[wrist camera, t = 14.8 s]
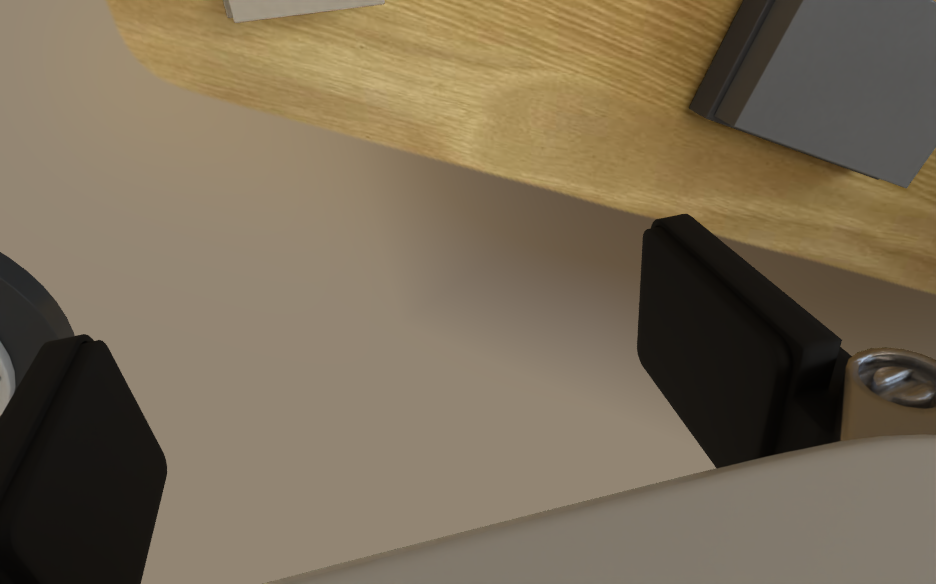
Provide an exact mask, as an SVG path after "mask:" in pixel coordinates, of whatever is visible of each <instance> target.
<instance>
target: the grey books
mask: <svg viewBox="0 0 936 584" xmlns="http://www.w3.org/2000/svg"><path fill="white" fill-rule="evenodd" d="M689 109H690V110H692V111H694V112H696V113H697V114H699V115H701V116H703V117H704V118H706V119H709V120H712V121H714V122H717V123H720V124H723V125H726V126H728V127H731V128H734V129H737V130H740V131H742V132H745V133H748V134H751V135H754V136H757V137H759V138H762V139H765V140H768V141H771V142H773V143H776V144H779V145H782V146H785V147H787V148H790V149H793V150H796V151H799V152H801V153H804V154H807V155H810V156H813V157H816V158H818V159H821V160H824V161H827V162H830V163H832V164H835V165H838V166H841V167H844V168H846V169H849V170H852V171H855V172H858V173H860V174H863V175H866V176H869V177H872V178H875V179H877V180H879V179H881V180H884V181H887V182H890V183H893V184H895V185H898V186H901V187H904V188H907V187H908V186H909V184H910V183H911V181H912V180H913V179H914V177H915V176H916V174H917V173H918V172H919V170H920V169H921V167H922V166H923V164H924V163H925V162H926V160H927V159H928V157H929V156H930V155H931V153H932V152H933V150H934V149H935V148H936V2H935V1H933V0H743V2H742V4H741V6H740V8H739V10H738V12H737V14H736V16H735V18H734V20H733V22H732V24H731V26H730V28H729V30H728V32H727V34H726V36H725V38H724V40H723V42H722V44H721V46H720V48H719V50H718V52H717V54H716V55H715V57H714V59H713V61H712V63H711V65H710V67H709V69H708V71H707V73H706V75H705V77H704V79H703V81H702V83H701V85H700V87H699V89H698V91H697V93H696V95H695V97H694V99H693V101H692V103H691V105H690V107H689Z"/></svg>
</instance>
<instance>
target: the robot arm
mask: <svg viewBox="0 0 936 584" xmlns="http://www.w3.org/2000/svg"><path fill="white" fill-rule="evenodd" d="M841 341H842V340H841V339H840V338H839V337H838V336H836V335H835V334H834V333H833V332H832V331H830V330H829V329H828V328H827V327H826V326H824V325H823V324H822V323H821V322H819V321H818V320H817V319H816V318H814V317H813V316H812V315H811V314H810V313H808V312H807V311H806V310H805V309H804V308H802V307H801V306H800V305H799V304H797V303H796V302H795V301H794V300H793V299H791V298H790V297H789V296H788V295H787V294H785V293H784V292H782V290H780V289H779V288H778V287H777V286H775V285H774V284H773V283H772V282H771V281H769V280H768V279H767V278H766V277H765V276H763V275H762V274H761V273H760V272H758V271H757V270H756V269H755V268H754V267H752V266H751V265H750V264H749V263H747V262H746V261H745V260H744V259H743V258H741V257H740V256H739V255H738V254H737V253H735V252H734V251H733V250H732V249H730V248H729V247H728V246H727V245H725V244H724V243H723V242H722V241H721V240H719V239H718V238H717V237H716V236H715V235H713V234H712V233H711V232H710V231H708V230H707V229H706V228H705V227H704V226H702V225H701V224H700V223H699V222H697V221H696V220H695V219H694V218H693V217H691V216H690V215H688V214H681V215H676V216H671V217H666V218H661V219H656V220H655V221H654V222H653V224H652V226H651V229H647V230H646V231H645V232H644V234H643V246H642V265H641V283H640V302H639V320H638V340H637V351H638V356H639V359H640V362H641V364H642V366H643V367H644V369H645V370H646V371H647V373H648V374H649V375H650V377H651V378H652V379H653V381H654V382H655V384H656V385H657V387H658V388H659V389H660V391H661V392H662V393H663V395H664V396H665V398H666V399H667V400H668V402H669V403H670V404H671V406H672V407H673V409H674V410H675V411H676V413H677V414H678V415H679V417H680V418H681V420H682V421H683V422H684V424H685V425H686V427H687V428H688V429H689V431H690V432H691V434H692V435H693V436H694V438H695V439H696V440H697V442H698V443H699V445H700V446H701V447H702V449H703V450H704V451H705V453H706V454H707V456H708V457H709V458H710V460H711V461H712V462H713V464H714V465H715V467H716V468H717V469H713V470H708V471H704V472H700V473H696V474H691V475H687V476H683V477H679V478H675V479H671V480H668V481H663V482H659V483H656V484H651V485H647V486H643V487H639V488H635V489H631V490H627V491H623V492H619V493H615V494H612V495H607V496H603V497H599V498H595V499H591V500H587V501H583V502H579V503H576V504H572V505H567V506H563V507H560V508H555V509H552V510H547V511H543V512H540V513H535V514H532V515H528V516H524V517H520V518H516V519H512V520H509V521H504V522H500V523H497V524H492V525H489V526H485V527H481V528H477V529H473V530H469V531H465V532H461V533H457V534H453V535H449V536H445V537H442V538H438V539H434V540H430V541H426V542H422V543H418V544H414V545H410V546H407V547H402V548H399V549H395V550H391V551H387V552H383V553H379V554H375V555H372V556H367V557H364V558H360V559H356V560H352V561H348V562H344V563H340V564H337V565H333V566H329V567H325V568H321V569H318V570H314V571H310V572H306V573H302V574H299V575H295V576H291V577H287V578H283V579H280V580H275V581H271V582H268V583H264V584H936V360H934V359H932V358H930V357H928V356H925V355H923V354H919V353H916V352H912V351H908V350H904V349H895V348H887V347H884V348H870V349H867V350H864V351H861V352H857V353H856V354H855V355H853V356H851V355H849V354H848V353H847V352H846V351H845V350H843V349H842V348H841V347H840V345H841ZM14 391H15V371H14V368H13V365H12V362H11V359H10V356H9V354H8V353H7V351H6V349H5V348H4V346H3V345H2V343H1V341H0V584H141V580H142V576H143V571H144V567H145V563H146V559H147V555H148V550H149V546H150V542H151V538H152V534H153V530H154V526H155V522H156V517H157V514H158V509H159V505H160V501H161V497H162V492H163V488H164V484H165V480H166V476H167V464H166V459H165V456H164V453H163V451H162V449H161V448H160V446H159V444H158V442H157V440H156V438H155V436H154V435H153V432H152V431H151V428H150V427H149V425H148V423H147V421H146V419H145V417H144V415H143V413H142V412H141V410H140V407H139V406H138V404H137V402H136V400H135V398H134V396H133V394H132V392H131V390H130V388H129V387H128V385H127V383H126V381H125V379H124V377H123V375H122V373H121V372H120V369H119V367H118V366H117V364H116V362H115V360H114V358H113V356H112V354H111V352H110V350H109V348H108V347H107V345H106V344H105V343H104V342H103V341H101V340H98V341H94V340H93V339H92V338H91V337H89V336H88V335H85V334H83V335H78V336H73V337H68V338H63V339H58V340H53V341H48V342H45V343H44V344H43V346H42V347H41V349H40V350H39V352H38V354H37V355H36V357H35V359H34V360H33V362H32V364H31V365H30V367H29V369H28V371H27V372H26V374H25V376H24V377H23V379H22V381H21V382H20V384H19V386H18V387H17V389H16V391H15V393H14Z"/></svg>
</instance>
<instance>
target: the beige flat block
mask: <svg viewBox="0 0 936 584" xmlns="http://www.w3.org/2000/svg"><path fill="white" fill-rule="evenodd" d="M228 1H229V5H230V9H231V13H232V16H233V20H234V22H235V23H239V22H247V21H255V20H263V19H271V18H279V17H287V16H295V15H303V14H311V13H319V12H326V11H334V10H342V9H350V8H358V7H366V6H374V5H382V4H384V3H385V2H384V0H228Z"/></svg>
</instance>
